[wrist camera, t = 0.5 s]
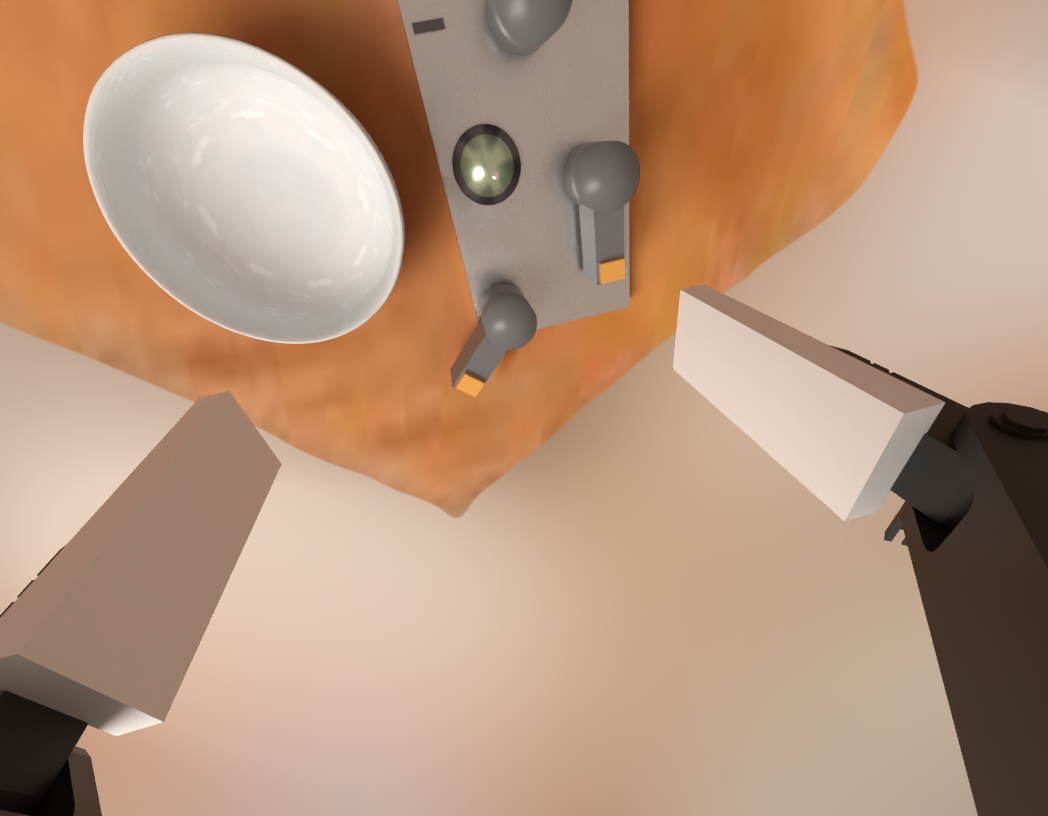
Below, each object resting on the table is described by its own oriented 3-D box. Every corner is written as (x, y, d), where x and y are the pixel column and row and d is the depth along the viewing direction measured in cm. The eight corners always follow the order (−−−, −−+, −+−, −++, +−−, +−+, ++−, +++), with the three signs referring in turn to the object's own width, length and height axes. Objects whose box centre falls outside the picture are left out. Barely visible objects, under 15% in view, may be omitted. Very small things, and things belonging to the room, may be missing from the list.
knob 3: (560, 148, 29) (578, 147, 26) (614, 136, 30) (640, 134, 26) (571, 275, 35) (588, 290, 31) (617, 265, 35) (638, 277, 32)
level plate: (370, -105, 22) (365, -128, 20) (616, -142, 23) (632, -167, 21) (481, 335, 38) (484, 344, 36) (622, 301, 39) (632, 308, 38)
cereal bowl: (450, 237, 33) (455, 256, 27) (307, 347, 35) (284, 385, 30) (273, -11, 23) (223, -64, 17) (95, 164, 26) (0, 168, 20)
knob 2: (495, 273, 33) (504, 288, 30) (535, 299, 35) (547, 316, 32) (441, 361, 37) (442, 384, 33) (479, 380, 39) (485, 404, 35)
